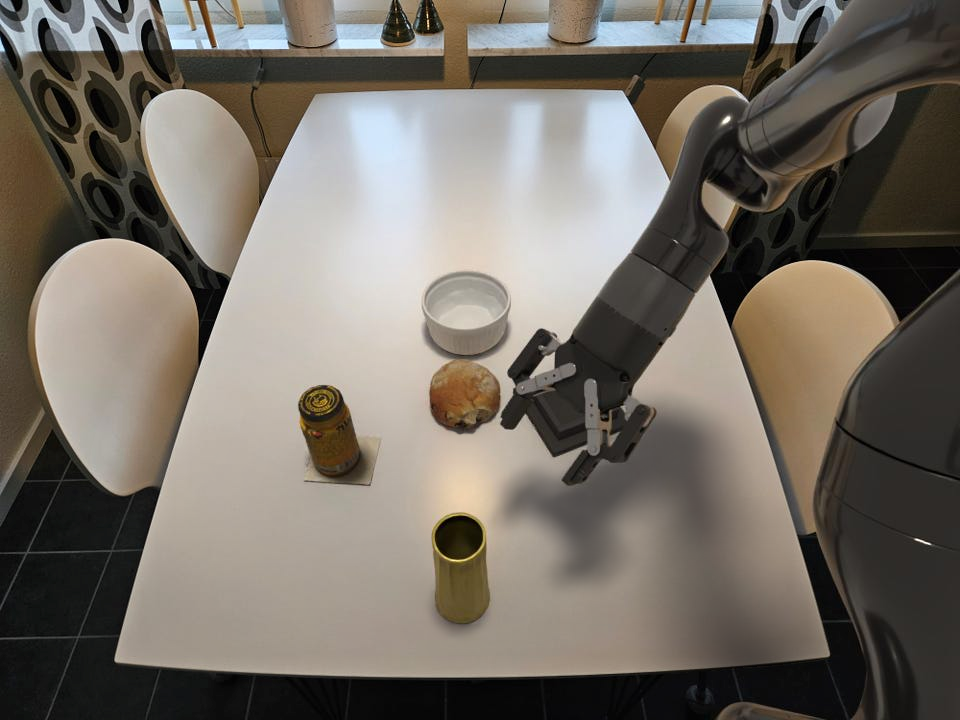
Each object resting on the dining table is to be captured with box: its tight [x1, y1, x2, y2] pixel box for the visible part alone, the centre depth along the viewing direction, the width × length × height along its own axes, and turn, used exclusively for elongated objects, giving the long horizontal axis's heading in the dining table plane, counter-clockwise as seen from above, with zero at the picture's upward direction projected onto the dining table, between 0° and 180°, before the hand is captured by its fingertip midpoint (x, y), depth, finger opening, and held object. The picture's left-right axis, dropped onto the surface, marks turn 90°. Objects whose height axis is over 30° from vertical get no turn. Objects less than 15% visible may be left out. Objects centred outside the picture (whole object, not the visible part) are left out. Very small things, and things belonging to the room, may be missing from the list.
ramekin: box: [421, 269, 512, 356], centre depth 97 cm, size 13×13×7 cm
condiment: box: [297, 384, 382, 485], centre depth 80 cm, size 7×8×12 cm
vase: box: [431, 511, 491, 624], centre depth 67 cm, size 6×6×14 cm
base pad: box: [512, 386, 627, 458], centre depth 88 cm, size 12×12×3 cm
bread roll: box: [428, 359, 502, 431], centre depth 89 cm, size 10×10×8 cm
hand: (536, 454), depth 63 cm, fingers open, 8 cm apart
